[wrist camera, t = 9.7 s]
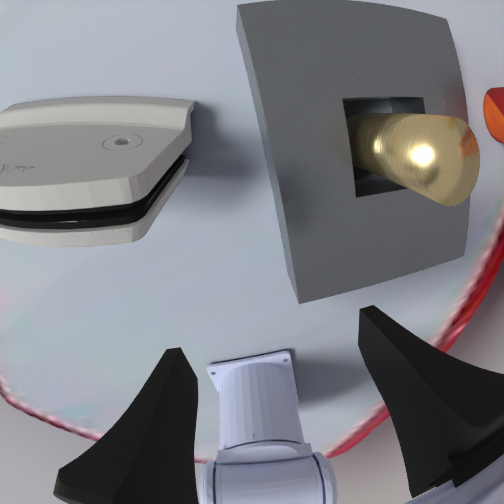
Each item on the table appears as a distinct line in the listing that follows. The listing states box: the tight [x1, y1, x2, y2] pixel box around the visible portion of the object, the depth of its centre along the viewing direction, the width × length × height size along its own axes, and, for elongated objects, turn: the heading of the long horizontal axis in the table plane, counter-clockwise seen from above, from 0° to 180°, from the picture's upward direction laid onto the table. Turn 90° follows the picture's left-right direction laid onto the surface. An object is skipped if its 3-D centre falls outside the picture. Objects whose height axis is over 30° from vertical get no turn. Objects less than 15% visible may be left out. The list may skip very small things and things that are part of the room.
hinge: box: [0, 96, 194, 247], centre depth 12 cm, size 17×5×10 cm, turn 79°
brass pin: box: [346, 113, 480, 206], centre depth 13 cm, size 4×4×9 cm
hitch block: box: [236, 0, 470, 304], centre depth 15 cm, size 18×14×4 cm
